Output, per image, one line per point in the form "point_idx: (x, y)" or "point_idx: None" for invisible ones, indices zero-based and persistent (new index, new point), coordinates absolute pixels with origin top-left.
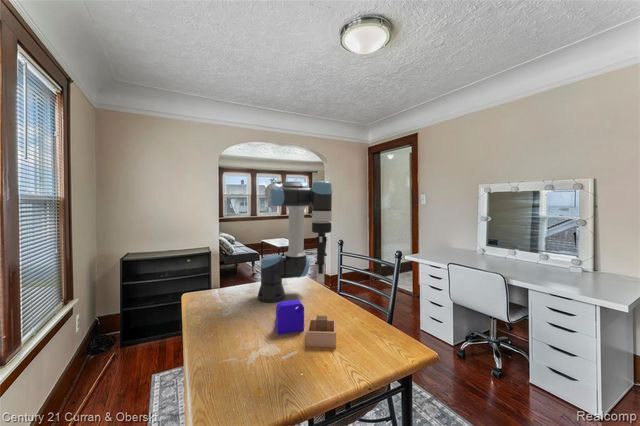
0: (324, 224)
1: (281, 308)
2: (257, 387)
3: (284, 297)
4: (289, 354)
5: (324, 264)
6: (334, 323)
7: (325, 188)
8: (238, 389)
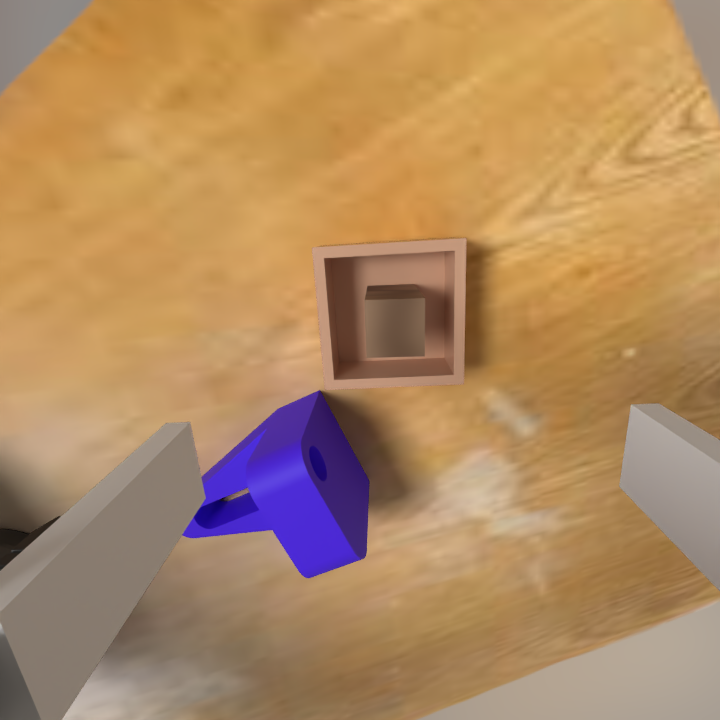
0: None
1: (357, 548)
2: None
3: (2, 532)
4: (508, 414)
5: (130, 500)
6: (357, 252)
7: None
8: None
